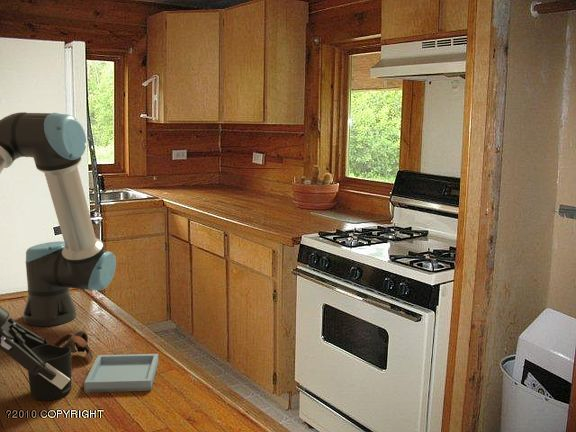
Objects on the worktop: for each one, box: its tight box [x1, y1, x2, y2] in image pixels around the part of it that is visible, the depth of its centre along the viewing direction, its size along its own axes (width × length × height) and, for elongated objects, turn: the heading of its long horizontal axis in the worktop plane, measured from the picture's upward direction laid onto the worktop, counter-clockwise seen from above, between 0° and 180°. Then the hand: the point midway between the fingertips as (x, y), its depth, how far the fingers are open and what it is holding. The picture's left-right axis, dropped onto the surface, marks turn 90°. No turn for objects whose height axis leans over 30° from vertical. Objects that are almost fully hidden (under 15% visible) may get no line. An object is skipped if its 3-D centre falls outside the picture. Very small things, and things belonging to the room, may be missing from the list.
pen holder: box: [27, 343, 72, 402], centre depth 137 cm, size 9×9×10 cm
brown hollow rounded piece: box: [53, 330, 94, 365], centre depth 155 cm, size 12×10×8 cm
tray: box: [83, 353, 159, 393], centre depth 146 cm, size 15×15×2 cm
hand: (65, 374), depth 138 cm, fingers closed on pen holder, 9 cm apart
